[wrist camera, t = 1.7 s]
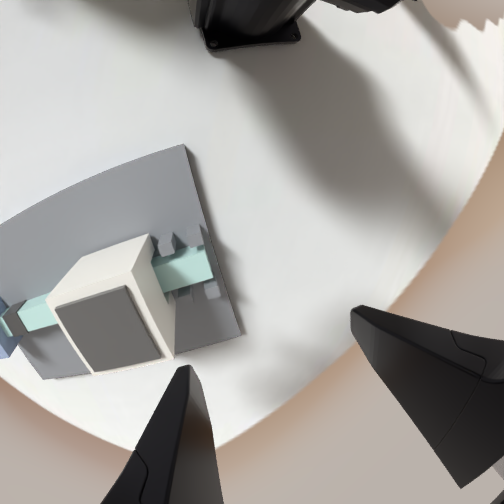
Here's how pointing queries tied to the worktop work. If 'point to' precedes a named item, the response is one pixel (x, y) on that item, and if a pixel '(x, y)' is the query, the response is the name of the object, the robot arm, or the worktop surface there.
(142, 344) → the sleeve
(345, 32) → the worktop surface
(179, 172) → the comb board
